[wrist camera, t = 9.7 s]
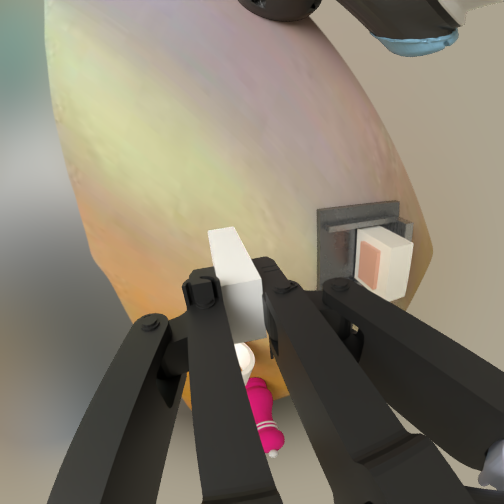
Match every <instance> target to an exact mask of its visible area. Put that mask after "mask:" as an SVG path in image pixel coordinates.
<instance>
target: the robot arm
mask: <svg viewBox="0 0 504 504" xmlns="http://www.w3.org/2000/svg"><path fill="white" fill-rule="evenodd" d="M238 1H239V2H240V3H241V4H242V5H243V6H244V7H245V8H247V9H248V10H250V11H251V12H253V13H255V14H257V15H259V16H262V17H264V18H268V19H271V20H277V21H296V20H300V19H303V18H306V17H307V16H309V15H310V14H311V13H313V12H314V11H315V10H316V9H317V8H318V7H319V5H320V3H321V1H322V0H238ZM337 1H338V2H339V3H340V4H341V5H342V6H344V7H345V8H346V9H347V10H348V11H349V12H350V13H351V14H352V15H353V16H355V17H356V18H357V19H358V20H359V21H360V22H361V23H362V24H363V25H364V26H365V27H366V28H367V29H368V30H369V31H370V33H371V35H372V36H374V37H375V38H377V39H378V40H379V41H380V42H381V43H382V44H383V45H384V46H385V47H386V48H387V49H388V50H389V51H391V52H392V53H394V54H397V55H400V56H405V57H415V56H423V55H427V54H432V53H435V52H438V51H440V50H443V49H444V48H445V46H450V45H452V44H453V43H454V42H455V41H456V40H457V39H458V35H459V34H458V29H457V27H460V26H463V25H464V24H465V19H466V14H467V12H468V11H470V10H473V9H476V8H480V7H484V6H487V5H491V4H495V3H499V2H504V0H337ZM208 237H209V243H210V249H211V255H212V261H213V267H208V268H202V269H196V270H193V271H192V273H191V274H190V275H189V279H187V280H186V281H185V282H184V283H183V285H182V290H183V294H184V298H185V302H186V306H187V311H186V312H185V313H184V314H182V315H181V316H179V317H176V318H174V319H171V320H168V319H167V317H166V316H165V315H163V314H158V313H154V314H147V315H145V316H142V317H141V318H139V319H138V320H137V321H136V322H135V323H134V324H133V326H132V327H131V329H130V331H129V333H128V334H127V336H126V338H125V339H124V341H123V343H122V345H121V346H120V348H119V350H118V352H117V354H116V355H115V357H114V359H113V361H112V363H111V364H110V366H109V368H108V370H107V372H106V374H105V375H104V377H103V379H102V381H101V383H100V385H99V387H98V389H97V391H96V393H95V395H94V397H93V398H92V400H91V402H90V404H89V407H88V408H87V410H86V412H85V415H84V417H83V419H82V421H81V423H80V425H79V427H78V429H77V431H76V433H75V436H74V438H73V440H72V442H71V444H70V447H69V449H68V451H67V454H66V456H65V458H64V461H63V463H62V465H61V468H60V470H59V473H58V475H57V478H56V480H55V483H54V485H53V488H52V491H51V493H50V496H49V499H48V502H47V504H156V500H157V495H158V491H159V486H160V482H161V478H162V473H163V469H164V464H165V460H166V456H167V452H168V448H169V444H170V439H171V435H172V431H173V427H174V423H175V419H176V415H177V411H178V408H179V404H180V399H181V396H182V392H183V388H184V385H185V381H186V377H187V372H188V371H189V376H190V391H191V404H192V415H193V426H194V435H195V443H196V452H197V460H198V467H199V474H200V481H201V487H202V495H203V501H202V504H283V502H282V499H281V497H280V494H279V492H278V491H277V489H276V486H275V483H274V480H273V477H272V474H271V471H270V468H269V465H268V462H267V459H266V455H265V452H264V449H263V446H262V442H261V439H260V436H259V433H258V429H257V426H256V422H255V419H254V416H253V412H252V409H251V405H250V402H249V398H248V395H247V391H246V387H245V384H244V380H243V376H242V373H241V369H240V365H239V361H238V358H237V354H236V350H235V346H234V344H238V343H243V342H248V341H253V340H258V339H262V338H267V336H266V330H267V332H268V334H269V343H270V355H271V359H274V357H275V360H276V362H277V364H278V367H279V369H280V372H281V374H282V376H283V379H284V381H285V384H286V386H287V388H288V391H289V393H290V395H291V398H292V400H293V402H294V405H295V407H296V409H297V412H298V414H299V416H300V419H301V421H302V424H303V426H304V428H305V430H306V433H307V435H308V437H309V440H310V442H311V444H312V446H313V449H314V451H315V453H316V456H317V458H318V460H319V462H320V465H321V467H322V469H323V471H324V474H325V476H326V478H327V480H328V482H329V485H330V487H331V489H332V492H333V497H334V504H504V372H503V371H501V370H499V369H498V368H497V367H495V366H493V365H492V364H490V363H489V362H487V361H486V360H484V359H482V358H481V357H479V356H477V355H476V354H475V353H473V352H471V351H470V350H468V349H467V348H465V347H463V346H461V345H460V344H459V343H457V342H455V341H453V340H452V339H450V338H449V337H447V336H446V335H444V334H442V333H441V332H439V331H437V330H436V329H434V328H432V327H431V326H429V325H427V324H426V323H424V322H422V321H420V320H419V319H417V318H416V317H414V316H412V315H411V314H409V313H407V312H406V311H404V310H402V309H400V308H399V307H397V306H395V305H394V304H392V303H390V302H389V301H387V300H385V299H383V298H382V297H380V296H378V295H376V294H375V293H373V292H371V291H370V290H368V289H366V288H364V287H363V286H361V285H359V284H357V283H356V282H354V281H352V280H349V279H346V278H342V277H338V278H337V277H336V278H332V279H328V280H327V281H325V282H324V283H323V285H322V290H318V291H306V290H303V289H302V287H301V286H300V285H299V284H298V283H297V282H294V281H291V280H287V278H286V277H285V275H284V274H283V272H282V271H281V270H280V268H279V267H278V266H277V264H276V263H275V261H274V260H273V259H271V258H269V257H260V258H255V259H251V258H250V256H249V255H248V253H247V251H246V249H245V247H244V245H243V243H242V241H241V239H240V238H239V236H238V234H237V232H236V230H235V228H234V226H233V227H227V228H221V229H215V230H209V231H208ZM353 324H354V325H356V326H357V327H358V328H359V329H358V332H357V331H355V330H354V329H352V326H353ZM273 355H274V357H273ZM388 404H389V405H390V406H391V407H392V408H393V409H394V410H396V411H397V412H398V413H399V414H400V415H402V416H403V417H404V418H405V419H406V420H408V421H409V422H410V423H411V424H412V425H414V426H415V427H416V428H417V429H418V430H420V431H421V432H422V433H423V434H424V435H423V434H411V433H409V432H407V431H406V430H405V428H404V427H403V426H402V424H401V423H400V421H399V420H398V418H397V417H396V416H395V414H394V413H393V411H392V410H391V409H390V407H389V406H388ZM425 435H426V436H425ZM431 440H432V441H433V442H434V443H435V444H437V445H438V446H439V447H441V448H442V449H443V450H444V451H445V452H447V453H448V454H449V455H450V456H452V457H453V458H455V459H456V460H457V461H459V462H461V463H462V464H464V465H466V466H468V467H471V468H473V469H477V470H480V471H481V473H480V474H479V477H478V482H479V484H480V485H481V486H487V485H489V484H490V485H491V486H493V487H495V488H496V489H497V491H496V490H488V489H481V488H474V487H468V486H464V485H463V484H462V483H461V481H460V480H459V478H458V477H457V475H456V474H455V472H454V471H453V470H452V468H451V467H450V465H449V464H448V462H447V461H446V460H445V458H444V457H443V456H442V454H441V453H440V451H439V450H438V448H437V447H436V446H435V444H434V443H433V442H432V441H431Z"/></svg>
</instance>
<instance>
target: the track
mask: <svg viewBox="0 0 504 504" xmlns="http://www.w3.org/2000/svg"><path fill="white" fill-rule="evenodd" d="M376 225H379V226H381V227H383V228H385V229H387V230H389V231H391V232H393V233H395V234H397V235H399V236H401V237H403V238H405V239H407V240H408V241H410V242H411V241H412V232H413V222H410V221H408V220H406V219H403V218H401V217H399V201H396V200H395V201H385V202H375V203H366V204H357V205H348V206H340V207H332V208H324V209H317V291H318V290H322V285H323V283H324V282H325V281H327V280H328V279H332V278H336V277H337V278H338V277H342V278H346V279H349V280H352V281H354V282H356V283H357V284H359V285H361V286H363V285H362V284H361V283H360V282H359V281H358V280H357V279H355V278H354V277H355V264H356V249H357V229H358V228H364V227H370V226H376ZM363 287H364V286H363ZM364 288H366V287H364ZM366 289H367V288H366Z"/></svg>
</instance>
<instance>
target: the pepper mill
mask: <svg viewBox="0 0 504 504" xmlns="http://www.w3.org/2000/svg"><path fill="white" fill-rule="evenodd" d="M245 387H246V391H247V395H248V398H249V402H250V405H251V409H252V412H253V416H254V419H255V422H256V426H257V429H258V433H259V436H260V439H261V442H262V446H263V449H264V452H265V453H269V456H270V457H272V458H274V457H276V456H277V455H278V450H279V449H280V448H281V447H282V446H283V445H284V435H283V433H282V432H281V431H279V430H278V426H277V423H276V422H274V421H273V419H272V413H271V411H272V405H273V397H272V394H271V392H270V391H269V390H268V389H267V386H266V383H265V381H264V380H263V379H261V378H256V377H255V378H249V379H248V382H247V384H246V386H245Z"/></svg>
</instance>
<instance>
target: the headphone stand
mask: <svg viewBox="0 0 504 504" xmlns="http://www.w3.org/2000/svg"><path fill="white" fill-rule="evenodd" d="M234 346H235V350H236V354H237V358H238V361H239V365H240V367H241V368H242V370H243V371H242V372H241V373H242V376H243V380H244V384H245V386H246V384H247V382H248V379H249V377H250V374H251V372H252V369H253V367H254V364H255V357H254V354H253V352H252V350H251V349H250V348H249V347H248V346H247V345H246V344H245V343H244V342H243V343H238V344H234Z"/></svg>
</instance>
